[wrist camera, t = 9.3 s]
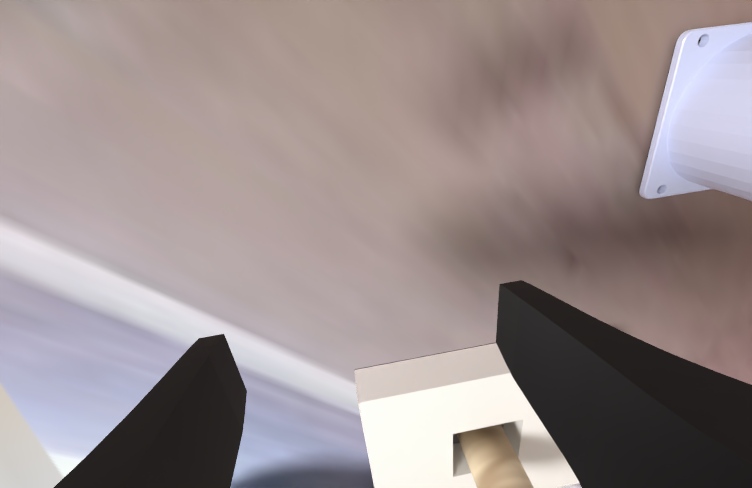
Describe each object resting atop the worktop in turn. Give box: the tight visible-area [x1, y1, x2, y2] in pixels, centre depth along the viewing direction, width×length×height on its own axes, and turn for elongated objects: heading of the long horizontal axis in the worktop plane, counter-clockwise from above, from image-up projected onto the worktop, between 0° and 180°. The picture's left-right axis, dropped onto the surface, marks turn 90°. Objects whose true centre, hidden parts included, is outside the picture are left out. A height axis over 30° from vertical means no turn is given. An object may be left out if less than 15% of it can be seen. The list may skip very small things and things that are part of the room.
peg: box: [456, 424, 534, 488], centre depth 23 cm, size 3×3×8 cm
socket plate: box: [354, 343, 579, 488], centre depth 25 cm, size 16×14×2 cm
